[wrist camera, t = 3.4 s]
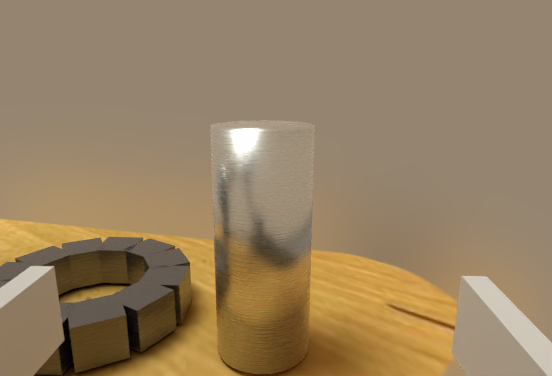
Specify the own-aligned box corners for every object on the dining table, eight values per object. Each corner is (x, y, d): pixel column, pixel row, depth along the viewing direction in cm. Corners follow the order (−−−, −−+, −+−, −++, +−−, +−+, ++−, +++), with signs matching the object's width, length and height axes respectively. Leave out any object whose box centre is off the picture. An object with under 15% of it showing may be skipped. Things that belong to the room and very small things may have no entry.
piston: (209, 372, 21) (199, 131, 18) (225, 317, 26) (219, 120, 22) (310, 375, 21) (318, 132, 18) (306, 319, 25) (312, 120, 22)
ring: (-82, 370, 21) (-93, 326, 20) (52, 266, 32) (48, 235, 32) (156, 377, 20) (153, 332, 20) (205, 269, 32) (204, 238, 31)
